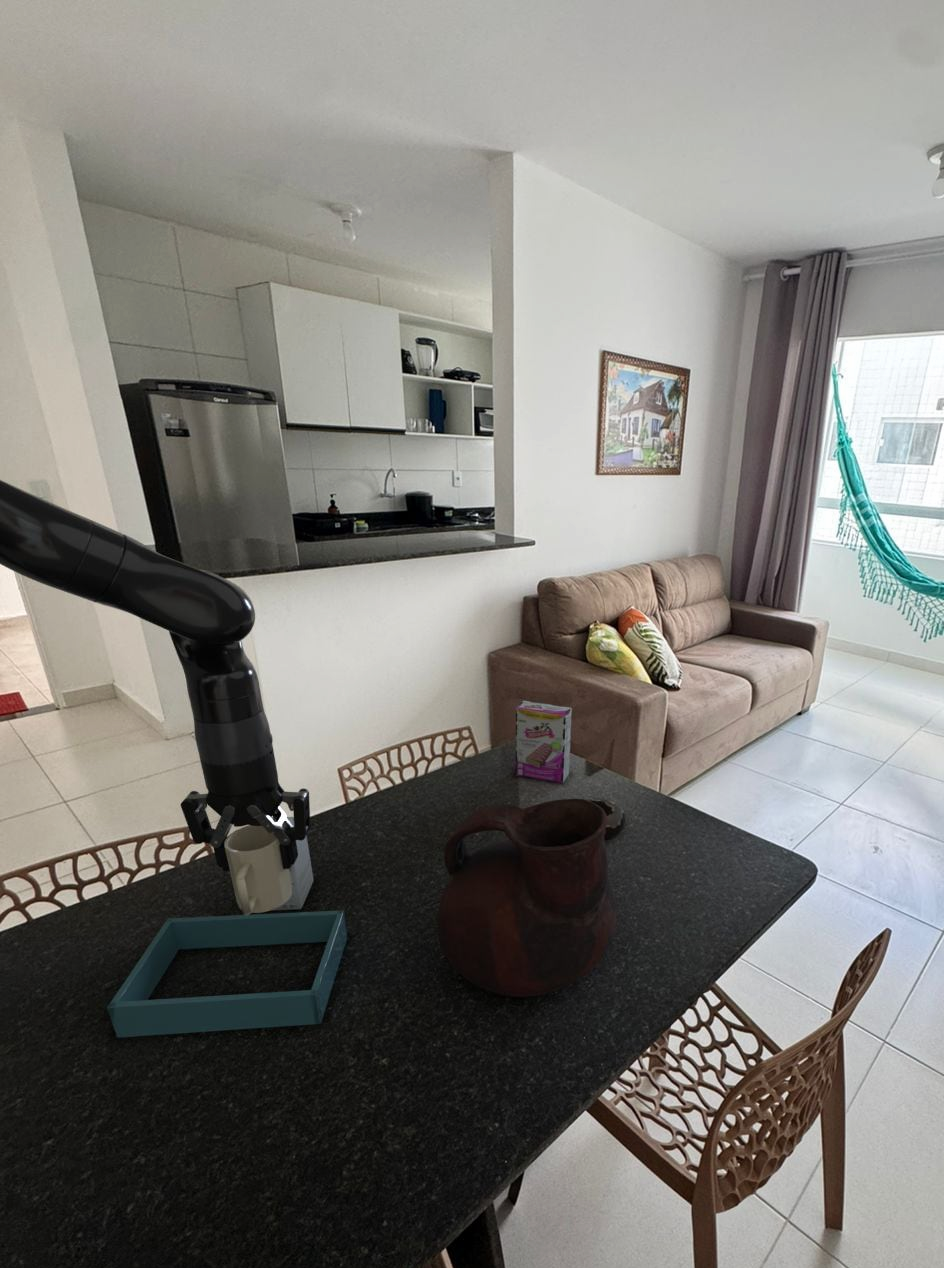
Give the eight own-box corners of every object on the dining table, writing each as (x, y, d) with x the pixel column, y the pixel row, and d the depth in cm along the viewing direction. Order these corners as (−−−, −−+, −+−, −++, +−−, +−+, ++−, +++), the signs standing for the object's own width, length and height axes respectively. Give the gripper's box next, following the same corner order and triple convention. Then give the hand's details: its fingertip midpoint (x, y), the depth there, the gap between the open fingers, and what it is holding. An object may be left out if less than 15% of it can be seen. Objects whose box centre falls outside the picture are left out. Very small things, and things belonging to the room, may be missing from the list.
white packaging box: (267, 882, 108) (255, 816, 103) (315, 880, 109) (305, 815, 104) (251, 912, 101) (236, 843, 96) (301, 910, 102) (290, 842, 97)
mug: (247, 882, 87) (235, 824, 84) (298, 879, 88) (288, 822, 84) (220, 930, 79) (205, 868, 75) (277, 927, 80) (265, 866, 76)
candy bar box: (514, 777, 144) (514, 708, 138) (522, 766, 149) (522, 699, 142) (563, 785, 142) (565, 715, 135) (570, 774, 147) (572, 706, 140)
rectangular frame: (117, 1037, 80) (106, 1007, 78) (175, 945, 94) (167, 918, 92) (320, 1024, 83) (316, 994, 81) (347, 937, 98) (344, 910, 96)
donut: (554, 818, 130) (554, 801, 128) (606, 806, 135) (608, 789, 133) (581, 850, 120) (581, 831, 119) (636, 835, 126) (637, 817, 124)
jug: (502, 881, 111) (501, 748, 101) (640, 932, 101) (653, 791, 91) (400, 981, 90) (385, 826, 80) (560, 1057, 81) (566, 892, 71)
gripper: (153, 763, 72) (185, 888, 79) (292, 761, 74) (311, 882, 80) (183, 734, 79) (210, 851, 85) (310, 732, 81) (327, 847, 87)
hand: (259, 866), depth 83 cm, fingers closed on mug, 6 cm apart
